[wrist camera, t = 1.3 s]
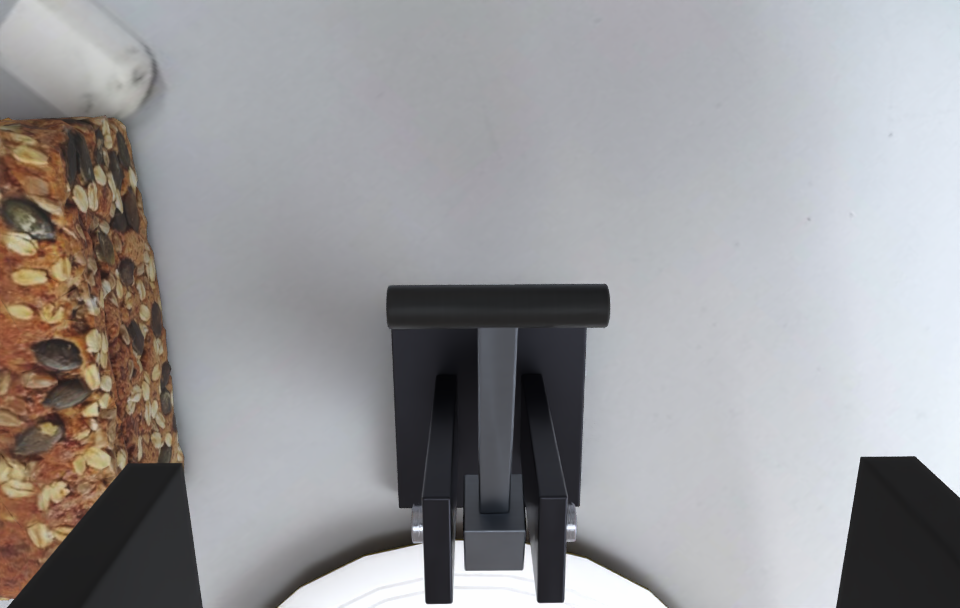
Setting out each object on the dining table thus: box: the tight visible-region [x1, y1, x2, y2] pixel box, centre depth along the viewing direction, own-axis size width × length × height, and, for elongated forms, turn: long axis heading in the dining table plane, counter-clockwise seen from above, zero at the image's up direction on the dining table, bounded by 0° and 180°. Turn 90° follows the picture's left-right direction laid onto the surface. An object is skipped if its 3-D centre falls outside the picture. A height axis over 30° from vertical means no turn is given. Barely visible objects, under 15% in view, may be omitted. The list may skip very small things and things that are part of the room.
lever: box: [386, 284, 610, 571], centre depth 26 cm, size 13×6×2 cm, turn 0°
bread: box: [0, 115, 184, 600], centre depth 32 cm, size 19×11×10 cm, turn 1°
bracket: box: [391, 328, 587, 604], centre depth 33 cm, size 10×9×12 cm
